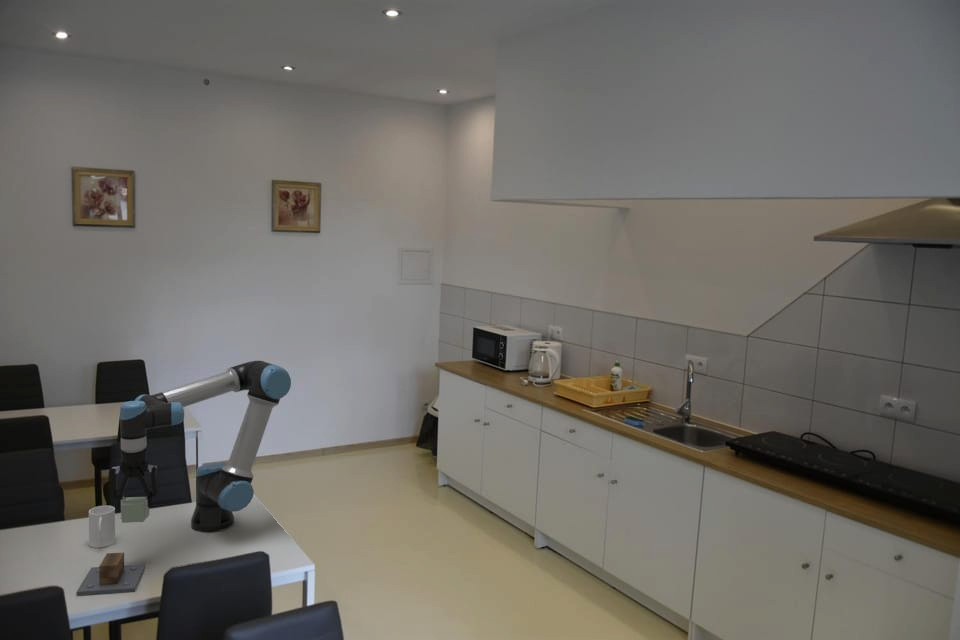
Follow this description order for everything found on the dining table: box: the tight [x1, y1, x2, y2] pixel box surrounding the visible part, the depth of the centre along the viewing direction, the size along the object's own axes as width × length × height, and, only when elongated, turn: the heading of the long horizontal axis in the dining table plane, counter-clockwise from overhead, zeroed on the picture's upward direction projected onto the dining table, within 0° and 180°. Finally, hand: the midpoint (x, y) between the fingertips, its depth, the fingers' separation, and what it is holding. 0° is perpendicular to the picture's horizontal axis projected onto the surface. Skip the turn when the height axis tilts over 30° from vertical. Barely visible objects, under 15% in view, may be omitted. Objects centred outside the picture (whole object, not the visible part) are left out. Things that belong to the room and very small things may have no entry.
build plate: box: [75, 563, 146, 597], centre depth 223 cm, size 16×16×2 cm
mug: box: [87, 505, 117, 549], centre depth 246 cm, size 12×8×12 cm
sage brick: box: [121, 496, 147, 524], centre depth 233 cm, size 6×6×6 cm
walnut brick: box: [98, 551, 125, 585], centre depth 222 cm, size 5×9×6 cm, turn 14°
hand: (135, 516), depth 234 cm, fingers closed on sage brick, 6 cm apart
